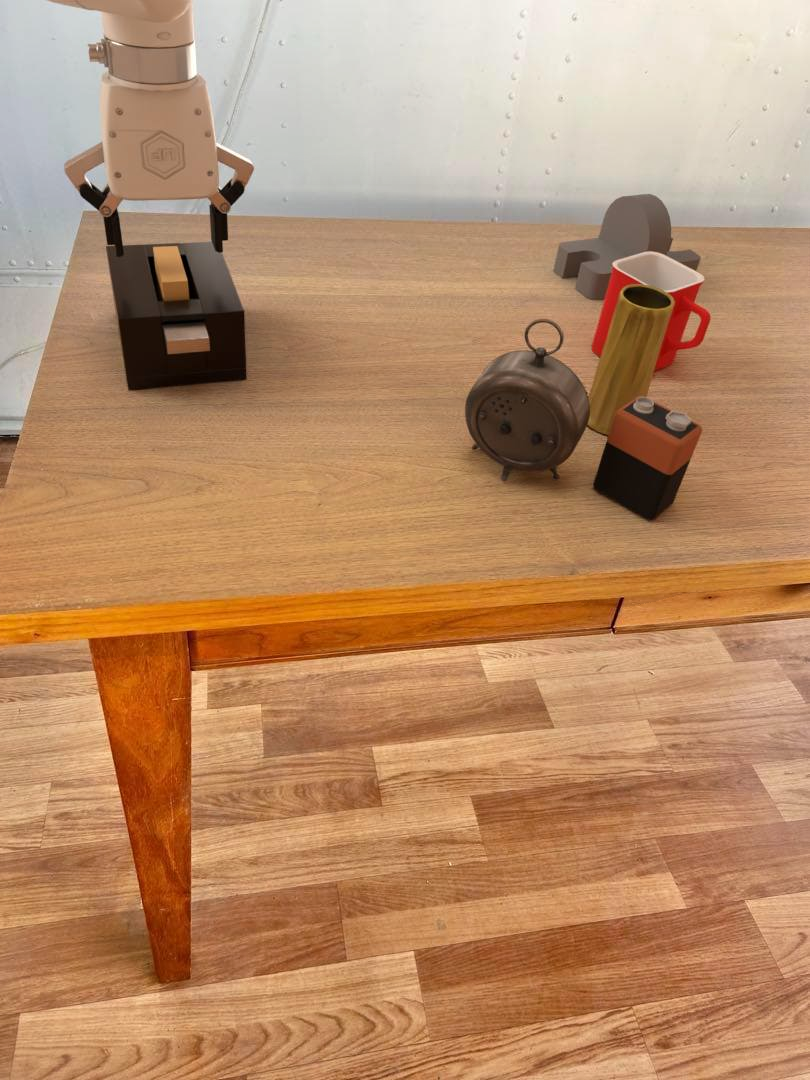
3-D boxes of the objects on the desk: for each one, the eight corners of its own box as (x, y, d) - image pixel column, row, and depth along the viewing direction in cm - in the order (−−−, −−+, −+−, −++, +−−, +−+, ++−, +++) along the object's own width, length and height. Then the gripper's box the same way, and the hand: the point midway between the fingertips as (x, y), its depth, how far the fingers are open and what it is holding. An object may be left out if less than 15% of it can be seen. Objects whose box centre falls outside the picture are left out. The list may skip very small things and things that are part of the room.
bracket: (695, 283, 118) (722, 205, 111) (590, 300, 112) (612, 219, 104) (652, 253, 125) (675, 178, 117) (549, 268, 118) (567, 189, 110)
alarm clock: (573, 474, 84) (617, 324, 73) (557, 505, 80) (600, 352, 69) (470, 438, 86) (497, 289, 75) (449, 467, 83) (474, 313, 72)
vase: (580, 431, 89) (616, 305, 80) (581, 400, 94) (615, 277, 84) (639, 441, 89) (682, 316, 79) (636, 409, 93) (677, 287, 84)
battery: (650, 524, 79) (685, 436, 72) (589, 488, 82) (617, 401, 76) (674, 504, 82) (709, 417, 75) (614, 470, 85) (642, 384, 78)
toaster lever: (167, 354, 82) (166, 340, 81) (164, 338, 84) (162, 324, 83) (210, 351, 83) (209, 337, 82) (205, 335, 85) (204, 321, 84)
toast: (169, 353, 90) (161, 282, 85) (160, 316, 95) (152, 246, 90) (193, 351, 91) (187, 280, 85) (183, 314, 96) (177, 245, 91)
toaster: (128, 390, 87) (118, 319, 82) (115, 313, 98) (105, 245, 92) (246, 379, 90) (244, 310, 85) (221, 306, 101) (218, 241, 96)
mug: (583, 348, 102) (605, 263, 95) (628, 331, 106) (653, 249, 99) (660, 397, 96) (691, 310, 89) (706, 377, 100) (738, 293, 93)
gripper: (47, 71, 70) (80, 270, 81) (258, 75, 75) (261, 261, 87) (45, 46, 75) (76, 236, 87) (243, 51, 80) (247, 230, 92)
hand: (168, 249), depth 87 cm, fingers open, 9 cm apart
